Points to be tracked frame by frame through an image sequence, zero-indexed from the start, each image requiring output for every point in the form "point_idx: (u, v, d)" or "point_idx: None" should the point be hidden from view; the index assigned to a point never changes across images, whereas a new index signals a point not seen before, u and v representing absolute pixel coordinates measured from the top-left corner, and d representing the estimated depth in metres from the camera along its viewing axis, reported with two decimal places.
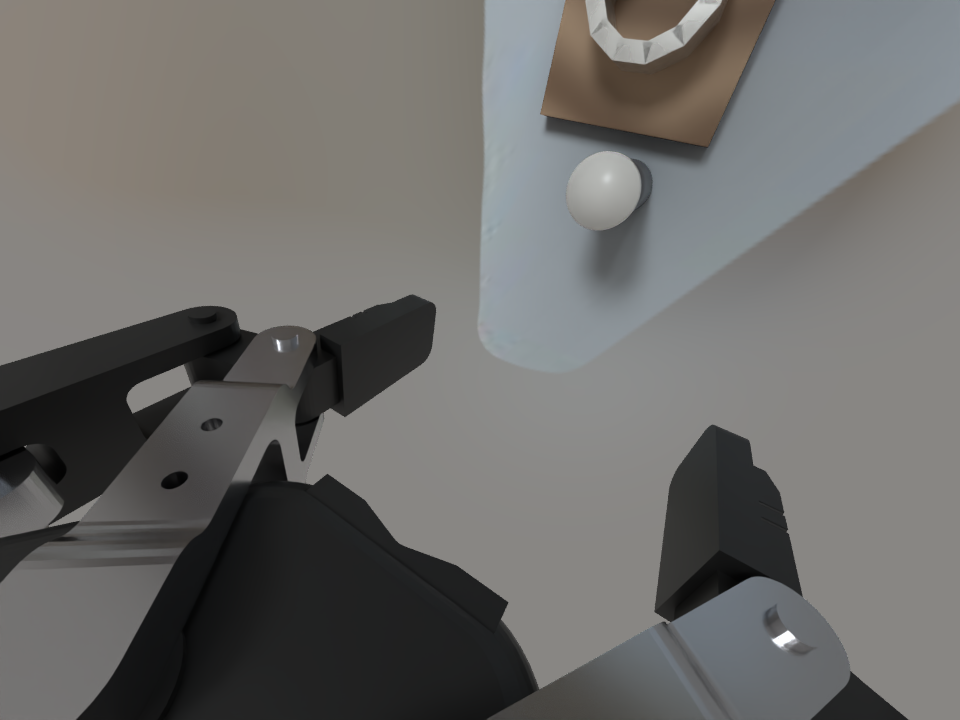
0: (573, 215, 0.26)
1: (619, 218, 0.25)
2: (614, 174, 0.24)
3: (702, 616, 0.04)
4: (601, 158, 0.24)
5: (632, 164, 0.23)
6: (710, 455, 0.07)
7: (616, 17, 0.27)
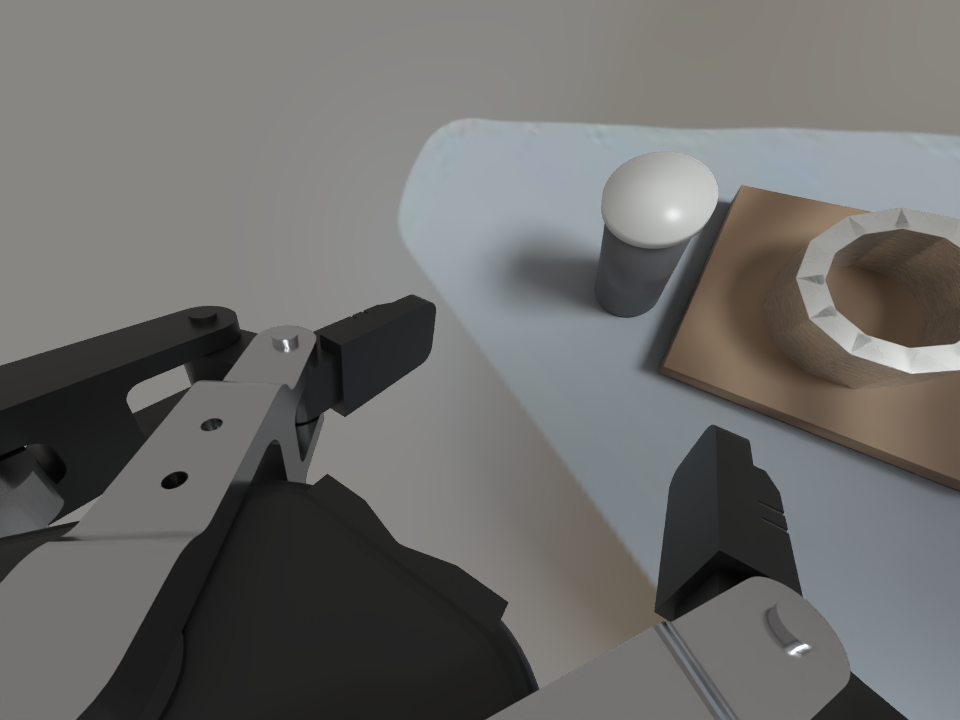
0: (629, 162, 0.18)
1: (616, 219, 0.17)
2: (682, 209, 0.16)
3: (702, 616, 0.04)
4: (708, 192, 0.16)
5: (692, 230, 0.16)
6: (710, 455, 0.07)
7: (839, 268, 0.21)
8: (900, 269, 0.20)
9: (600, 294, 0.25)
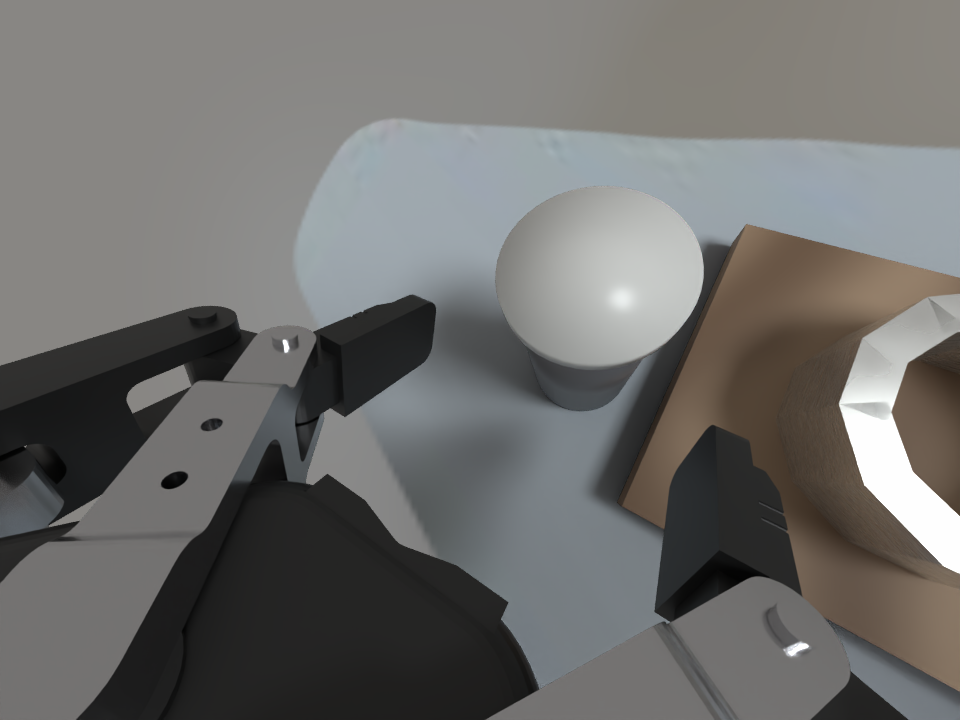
0: (548, 204, 0.10)
1: (515, 310, 0.09)
2: (634, 300, 0.09)
3: (702, 616, 0.04)
4: (685, 269, 0.08)
5: (652, 346, 0.08)
6: (710, 455, 0.07)
7: None
8: None
9: None
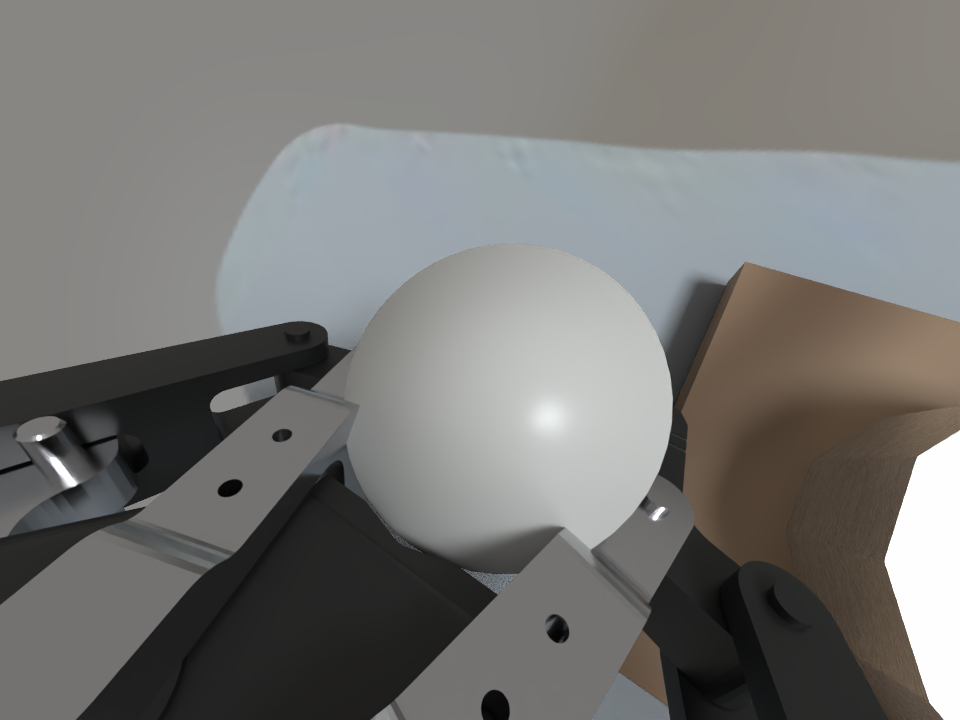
0: (435, 270, 0.06)
1: (368, 454, 0.06)
2: (554, 454, 0.05)
3: None
4: (640, 403, 0.05)
5: None
6: None
7: None
8: None
9: None
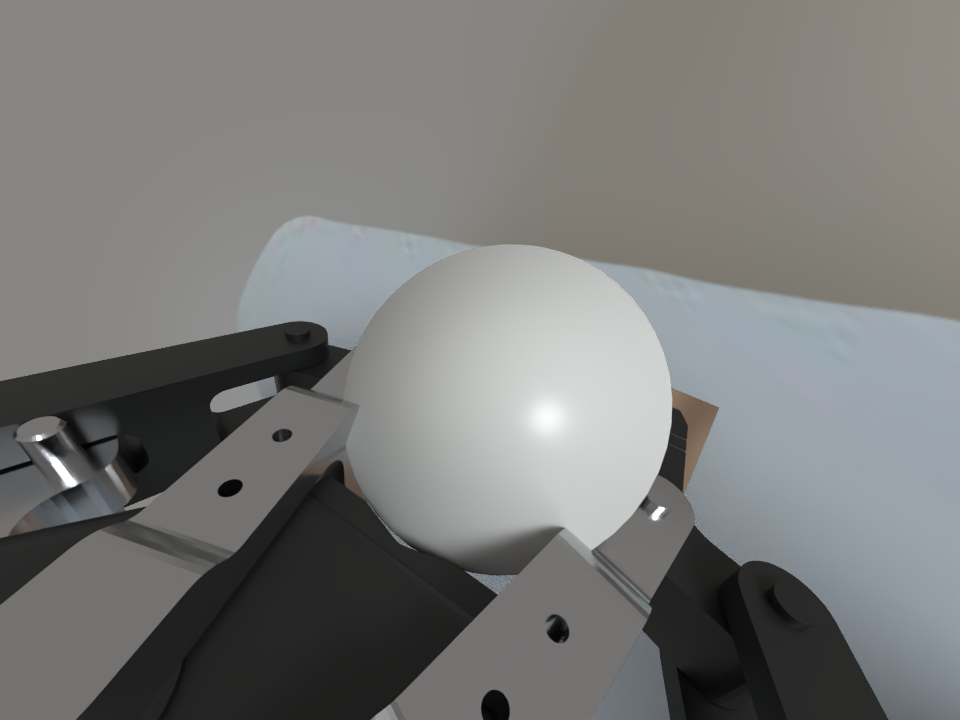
0: (434, 270, 0.06)
1: (367, 455, 0.06)
2: (553, 455, 0.05)
3: None
4: (640, 404, 0.05)
5: None
6: None
7: None
8: None
9: None
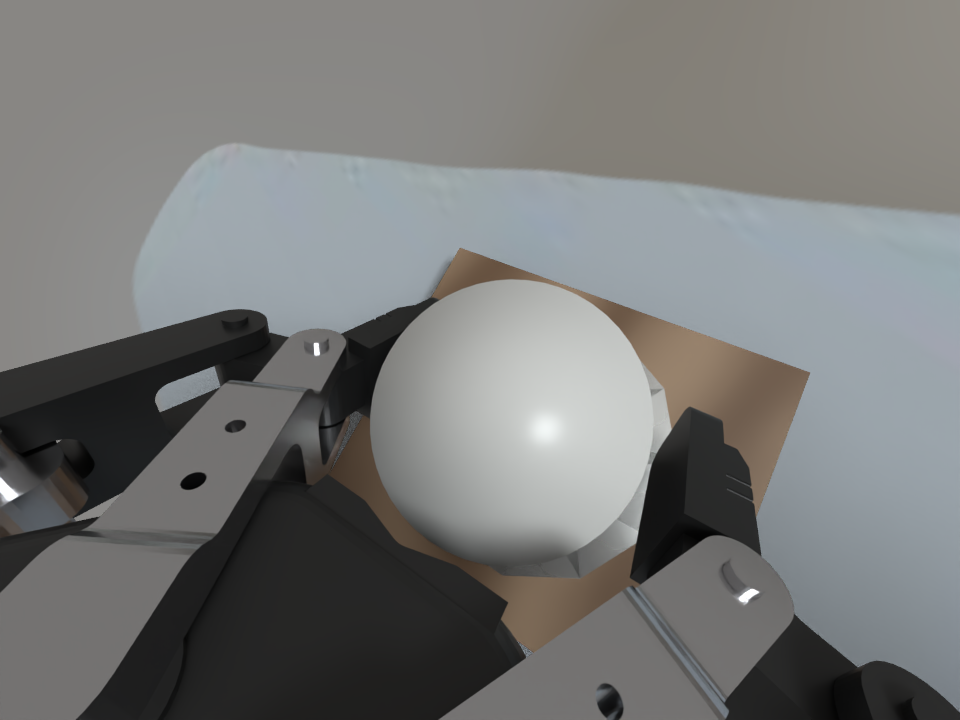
0: (449, 301, 0.07)
1: (392, 464, 0.06)
2: (553, 466, 0.06)
3: (666, 577, 0.05)
4: (626, 422, 0.06)
5: (574, 546, 0.05)
6: (685, 433, 0.08)
7: None
8: None
9: None
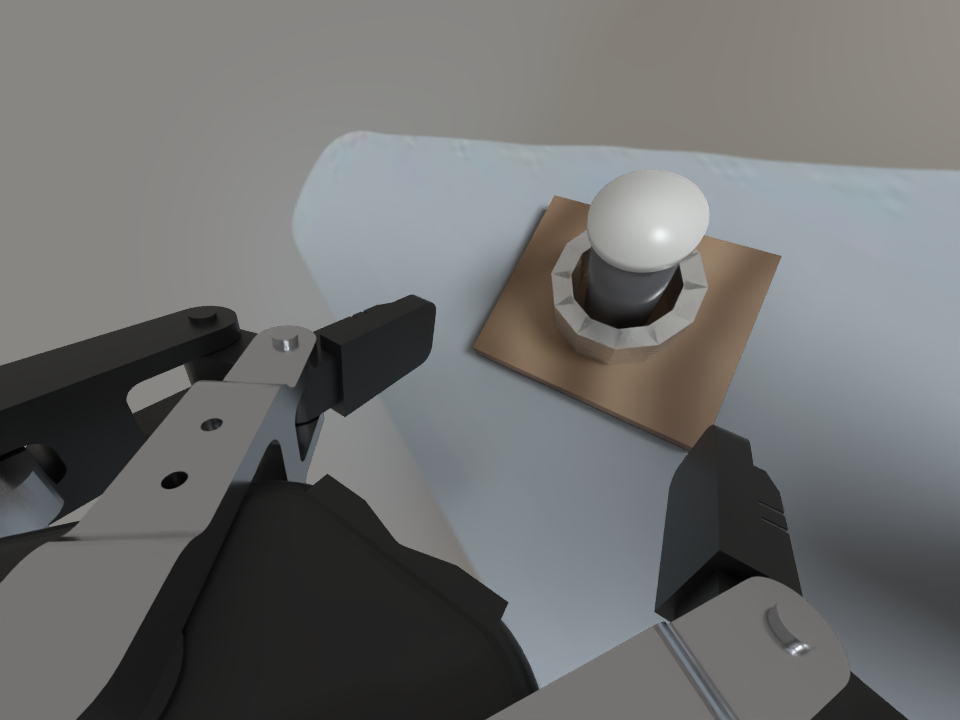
0: (617, 180, 0.17)
1: (602, 240, 0.16)
2: (671, 231, 0.15)
3: (702, 616, 0.04)
4: (699, 214, 0.15)
5: (681, 254, 0.15)
6: (710, 455, 0.07)
7: None
8: None
9: (589, 312, 0.24)
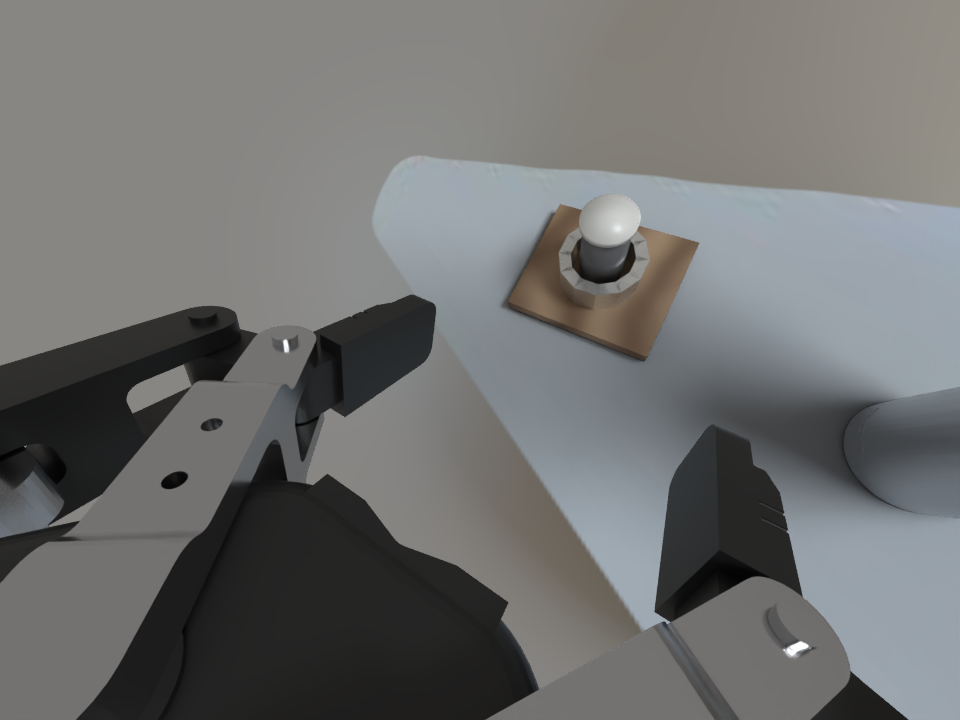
0: (595, 199, 0.31)
1: (586, 231, 0.31)
2: (621, 226, 0.30)
3: (702, 616, 0.04)
4: (635, 217, 0.30)
5: (626, 238, 0.30)
6: (710, 455, 0.07)
7: None
8: None
9: (581, 277, 0.39)
